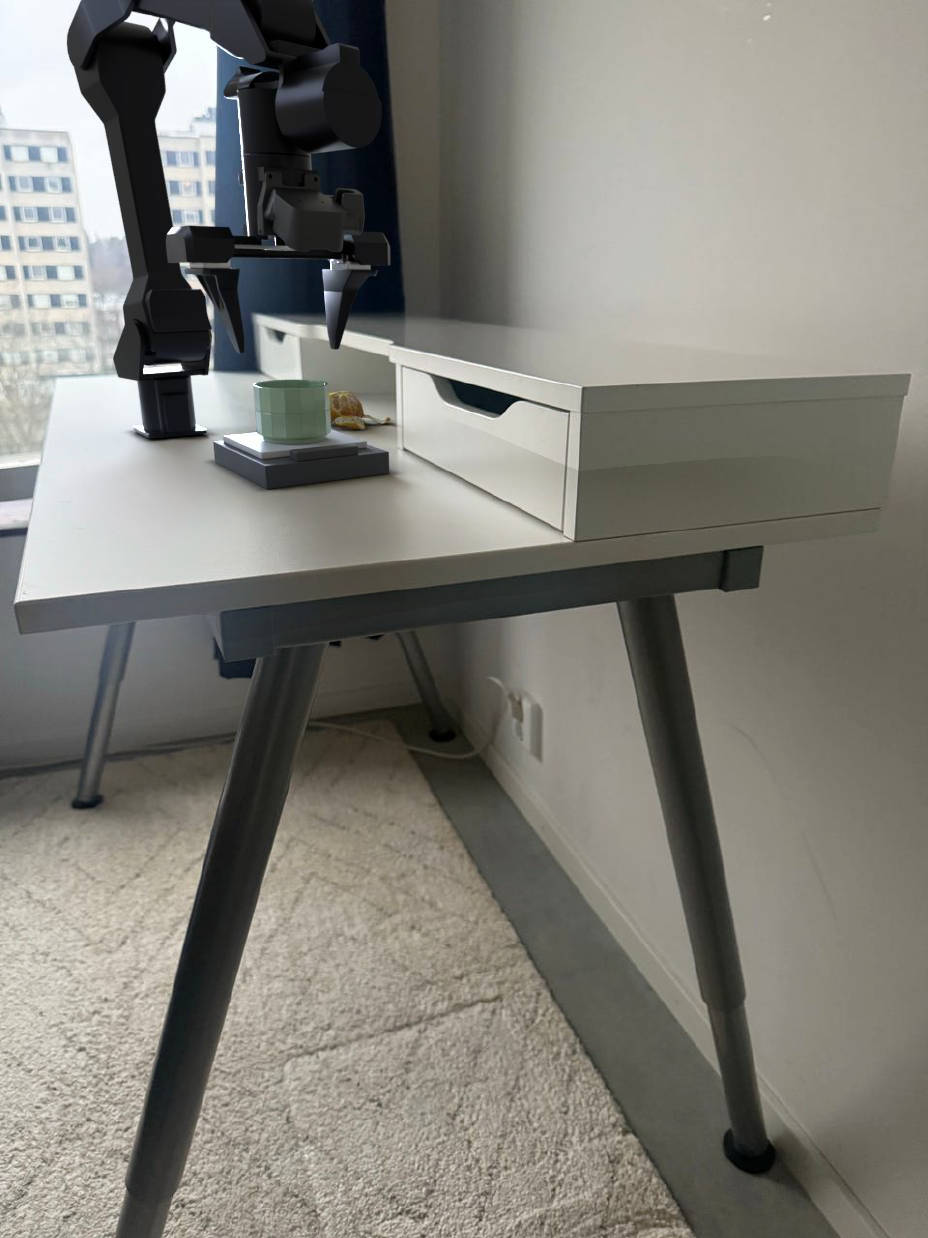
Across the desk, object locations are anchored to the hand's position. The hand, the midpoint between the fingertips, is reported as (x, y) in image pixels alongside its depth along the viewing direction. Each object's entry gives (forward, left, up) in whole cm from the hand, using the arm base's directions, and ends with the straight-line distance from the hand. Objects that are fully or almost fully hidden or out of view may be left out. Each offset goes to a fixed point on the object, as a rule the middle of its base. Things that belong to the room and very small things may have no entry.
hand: (289, 351), depth 78 cm
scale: (+1, 0, -10) cm, 11 cm away
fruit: (-18, +15, -11) cm, 26 cm away
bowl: (0, 0, -8) cm, 8 cm away
